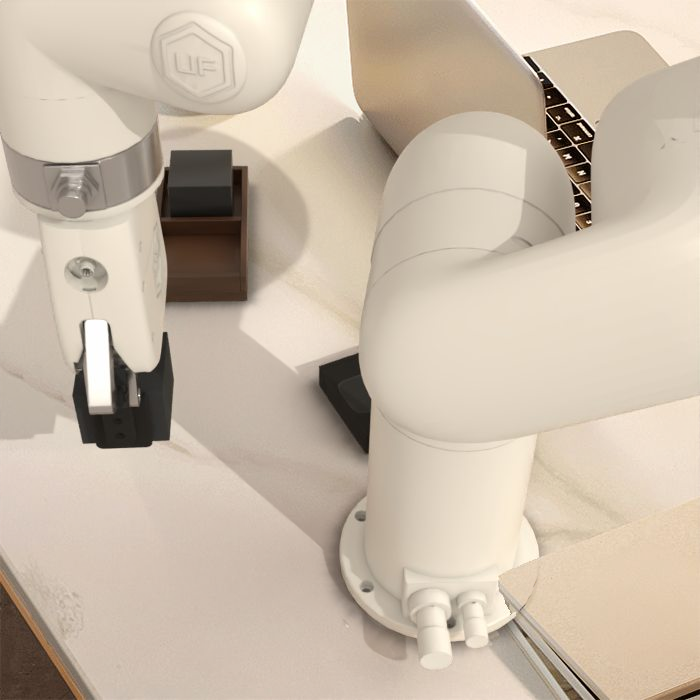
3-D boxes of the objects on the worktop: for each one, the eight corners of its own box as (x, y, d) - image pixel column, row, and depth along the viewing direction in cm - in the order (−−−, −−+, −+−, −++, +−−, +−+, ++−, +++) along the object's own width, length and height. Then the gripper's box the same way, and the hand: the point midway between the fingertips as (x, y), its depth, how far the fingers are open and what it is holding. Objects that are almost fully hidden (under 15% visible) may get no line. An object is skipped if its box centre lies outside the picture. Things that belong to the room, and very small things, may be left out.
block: (169, 441, 73) (162, 392, 70) (82, 444, 73) (72, 395, 70) (174, 379, 77) (167, 331, 74) (90, 382, 77) (81, 334, 74)
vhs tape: (541, 391, 92) (545, 371, 91) (366, 456, 87) (367, 436, 86) (487, 327, 97) (490, 307, 95) (318, 385, 92) (318, 365, 91)
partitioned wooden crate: (247, 300, 98) (245, 250, 95) (151, 302, 98) (145, 252, 95) (248, 189, 109) (246, 140, 105) (161, 190, 108) (156, 141, 105)
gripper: (150, 259, 56) (187, 519, 69) (170, 58, 68) (198, 309, 81) (-21, 265, 56) (47, 524, 68) (30, 61, 68) (80, 313, 81)
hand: (128, 405), depth 75 cm, fingers closed on block, 5 cm apart
